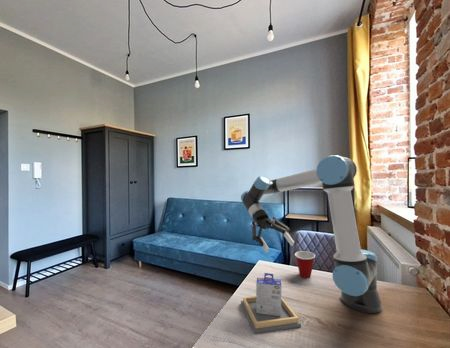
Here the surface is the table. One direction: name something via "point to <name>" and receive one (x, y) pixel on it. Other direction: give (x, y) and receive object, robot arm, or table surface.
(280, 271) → the table surface
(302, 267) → the plastic cup
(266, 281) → the ink cartridge box
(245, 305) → the tray
